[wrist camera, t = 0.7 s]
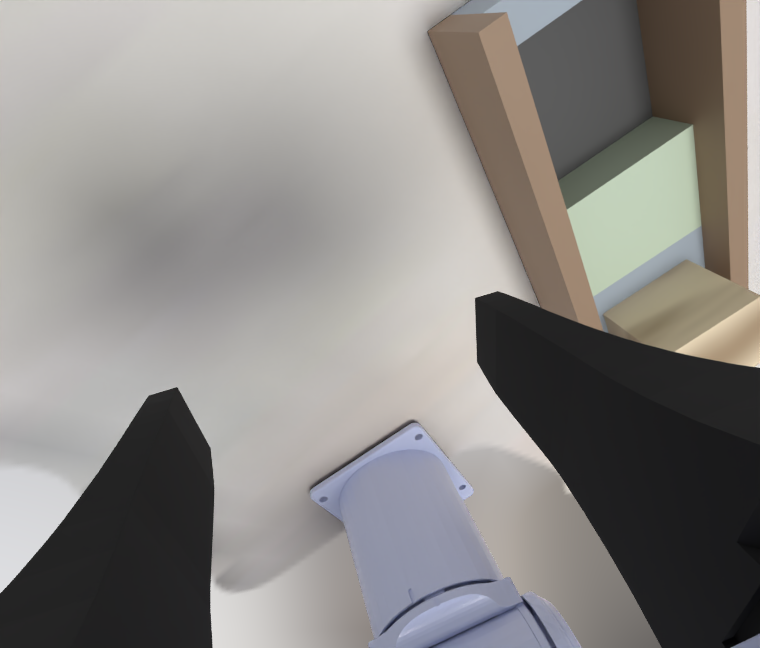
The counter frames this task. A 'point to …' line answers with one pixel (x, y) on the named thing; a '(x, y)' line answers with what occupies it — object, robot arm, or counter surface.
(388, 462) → the robot arm
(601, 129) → the trap track
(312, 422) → the counter surface
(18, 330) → the counter surface
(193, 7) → the counter surface
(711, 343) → the maple block
